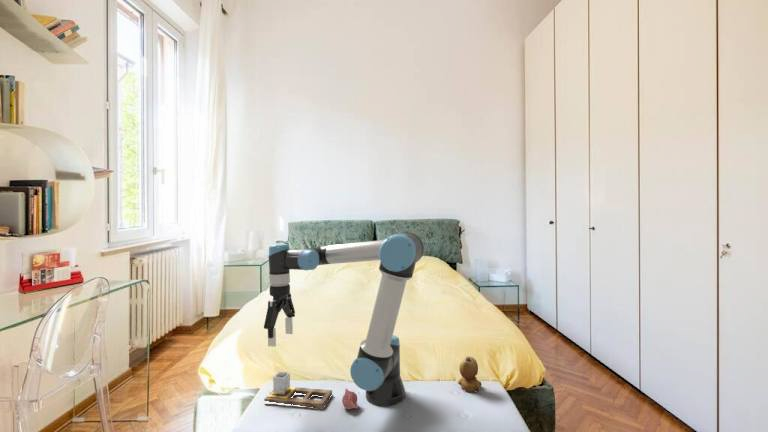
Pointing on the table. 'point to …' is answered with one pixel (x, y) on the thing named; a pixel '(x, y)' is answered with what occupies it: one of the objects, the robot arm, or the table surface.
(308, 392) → the board
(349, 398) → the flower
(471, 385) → the figurine
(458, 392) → the table surface
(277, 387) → the block
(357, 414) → the table surface
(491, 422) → the table surface
